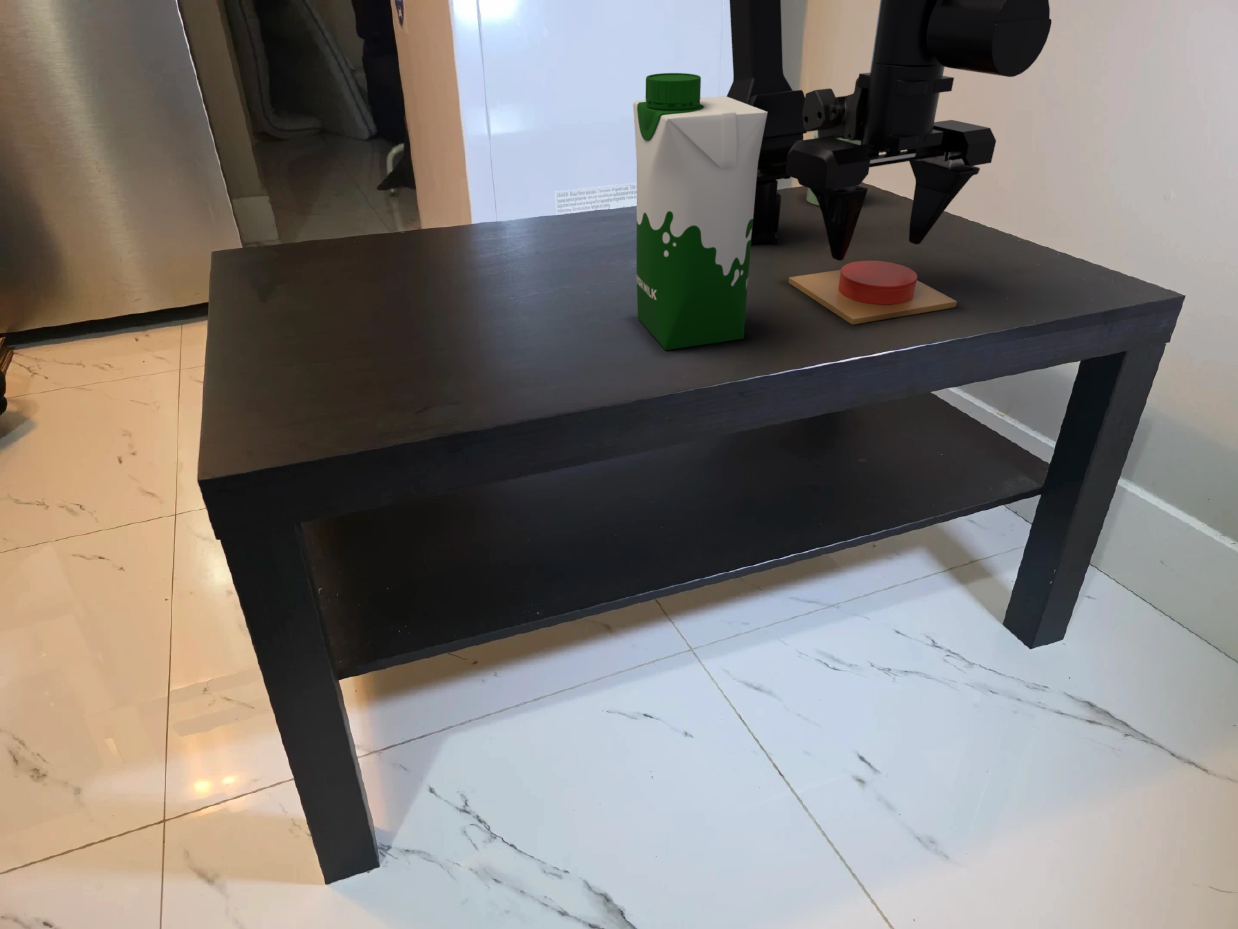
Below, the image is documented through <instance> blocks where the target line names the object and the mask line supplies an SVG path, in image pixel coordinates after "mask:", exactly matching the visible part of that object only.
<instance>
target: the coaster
mask: <svg viewBox="0 0 1238 929" xmlns="http://www.w3.org/2000/svg"><path fill="white" fill-rule="evenodd" d="M840 272H841V269H836V270H829V271H822V272H817V273H810V274H809V273H808V274H802V275H795V276H789V277H788V284H789V285H790V286H793V287H794V288H795V289H797V290H798V291H800V292H802V293H803V294H805V295H806V296H808V297H809V298H810V299H812V300H814V301H815V302H817V303H818V304H820V305H821V306H823V307H825V308H826V309H827V310H829V311H830V312H832V313H834V314H835V315H836V316H838V317H839V318H841V319H842V320H844V321H845V322H847V323H849V324H850V325H852V326H854V325H859V324H865V323H870V322H878V321H884V320H888V319H894V318H900V317H901V318H902V317H907V316H912V315H918V314H924V313H930V312H936V311H942V310H948V309H953V308H956V307H957V304H958V301H957V300H955V299H953V298H951V297H949V295H948V296H947V295H946V294H944V293H942V292H940V291H938V290H936V289H935V288H933V287H931V286H929V285H927V284H925V283H923V282H921V281H920V280H917V281H916V286H915V291H914V296H913V297H912V299H910V300H908V301H906V302H903V303H899V304H890V305H878V304H869V303H863V302H859V301H855V300H852V299H850V298H848V297H846V296H844V295H843V294H841V293H840V291H839V289H838V286H839V279H840Z"/></svg>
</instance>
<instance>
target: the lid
mask: <svg viewBox="0 0 1238 929" xmlns="http://www.w3.org/2000/svg"><path fill="white" fill-rule="evenodd" d="M840 270H841V272H840V279H839V286H838V289H839V291H840V293H841V294H843V295H844V296H846V297H848V298H850V299H852V300H855V301H859V302H863V303H869V304H878V305H890V304H899V303H903V302H906V301H908V300H910V299H912V297H913V296H914V291H915V286H916V281H918V274H917V273H916V272H915V271H914V270H913V269H911V268H909V267H907V266H905V265H902V264H899V263H895V262H890V261H884V260H859V261H853V262H849V263H847V264H845V265H843V266H842V267H841V269H840Z"/></svg>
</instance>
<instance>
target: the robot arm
mask: <svg viewBox="0 0 1238 929" xmlns="http://www.w3.org/2000/svg"><path fill="white" fill-rule="evenodd" d="M729 15H730V16H729V18H730V34H731V35H730V36H731V55H732V73H733V74H732V75H733V76H732V78H733V79H732V83H731V85H730V88H729V90H728V92H727V94H726V95H725V96H726V97H729V98H732V99H734V100H737V101H740V102H742V103H745V104H748V105H750V106H753V107H756V108H758V109H761V110H764V111H766V112H768V113H767V118H766V123H765V128H764V133H763V138H762V143H761V148H760V154H759V159H758V167H757V178H756V190H755V202H754V214H753V226H752V238H751V244H764V243H766V244H767V243H776V242H778V236H777V235H776V234H775V233H777V232H778V231H779V226H780V216H781V215H780V214H781V205H782V204H781V203H782V194H780V192H778V186H779V185H778V184H779V180H790V179H791V178H793V179H796V180H797V183H798V185H799V186H802V187H805V188H810V190H811V191H812V192H813V194H814V195H815V197H816V198H817V200H818V203H819V209H820V211H821V215H822V219H823V223H824V228H825V232H826V236H827V241H828V245H829V250H830V255H831V257H832V259H834V260H835V261H837V262H841V261H843V260H844V259H845V257H846V254H847V252H848V250H849V248H850V245H851V242H852V239H853V236H854V233H855V230H856V226H857V224H858V221H859V218H860V214H861V212H862V209H863V206H864V203H865V199H866V196H867V193H868V190H869V188H868V187H866V186H863V185H861V184H862V183H863V182H864V180H865V179H866V178H867V176H869V172H870V168H874V167H882V166H888V165H895V164H900V163H901V164H902V163H906V162H909V165H910V168H911V171H912V174H913V176H914V179H915V180H914V181H915V185H914V192H913V199H912V205H911V214H910V221H909V230H908V231H909V232H908V242H909V243H911V244H913V245H916V246H917V245H920V244H921V243H922V242H923V240H924V239H925V238H926V236H927V235H928V234H929V232H930V231H931V230H932V228H933V227H934V225H935V224H936V222H938V220H939V218H940V217H941V216H942V214H943V213H944V212H945V211H946V209H947V207H948V206H949V205H950V204H951V203H952V201H953V200H954V199H955V198H956V196H957V195H958V194H959V192H961V191H962V189H963V188H964V187H965V186H966V184H967V183H968V182H969V181H970V179H971V178H972V177H973V176H976V175H979V173H980V170H981V168H980V167H979V166H981V165H987V164H992V161H993V157H994V152H995V148H996V143H997V140H996V137H995V135H994V133H993V131H992V129H991V127H987V126H983V125H978V124H974V123H969V122H964V121H959V120H954V119H950V120H949V119H948V120H940V121H935V120H936V114H937V109H938V104H939V98H940V95H941V94H940V93H949V92H952V91H953V86H954V80H955V77H953V76H947V75H944V72H945V68H948V69H953V70H959V71H966V72H974V73H980V74H986V75H994V76H999V77H1000V76H1001V77H1007V78H1013V77H1016V76H1019V75H1021V74H1023V73H1024V72H1026V71H1027V70H1028V69H1029V68H1030V67H1031V66H1032V65H1033V64H1034V63H1035V62H1036V61H1037V59H1038V58H1039V56H1040V55H1041V53H1042V51H1043V49H1044V47H1045V46H1046V44H1047V41H1048V37H1049V34H1050V32H1051V28H1052V23H1053V22H1052V19H1051V17H1050V16H1051V6H1050V0H879V7H878V14H877V21H876V28H875V36H874V43H873V50H872V56H871V63H870V70H869V72H861V73H858V77H857V78H856V79H855V84H854V90H853V93H850V94H848V95H841V96H836V95H835V93H834V90H833V89H832V88H830V87H829V88H822V89H820V88H819V89H814V90H812V91H809V92H807V93H804V91H803V90H802V89H797V90H793V88H792V87H791V85H790V82H789V81H788V79H787V78H786V76H785V73H784V58H783V57H784V55H783V53H784V52H783V28H782V27H783V24H782V22H783V20H782V0H729ZM816 131H818V138H815V139H813V138H807V139H804V135H805V134H807V133H810V132H816ZM836 138H842V139H848V140H851V141H855V140H858V141H861V145H858V144H854V143H850V142H847V141H843V140H839V139H836ZM880 153H881V154H880Z"/></svg>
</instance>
